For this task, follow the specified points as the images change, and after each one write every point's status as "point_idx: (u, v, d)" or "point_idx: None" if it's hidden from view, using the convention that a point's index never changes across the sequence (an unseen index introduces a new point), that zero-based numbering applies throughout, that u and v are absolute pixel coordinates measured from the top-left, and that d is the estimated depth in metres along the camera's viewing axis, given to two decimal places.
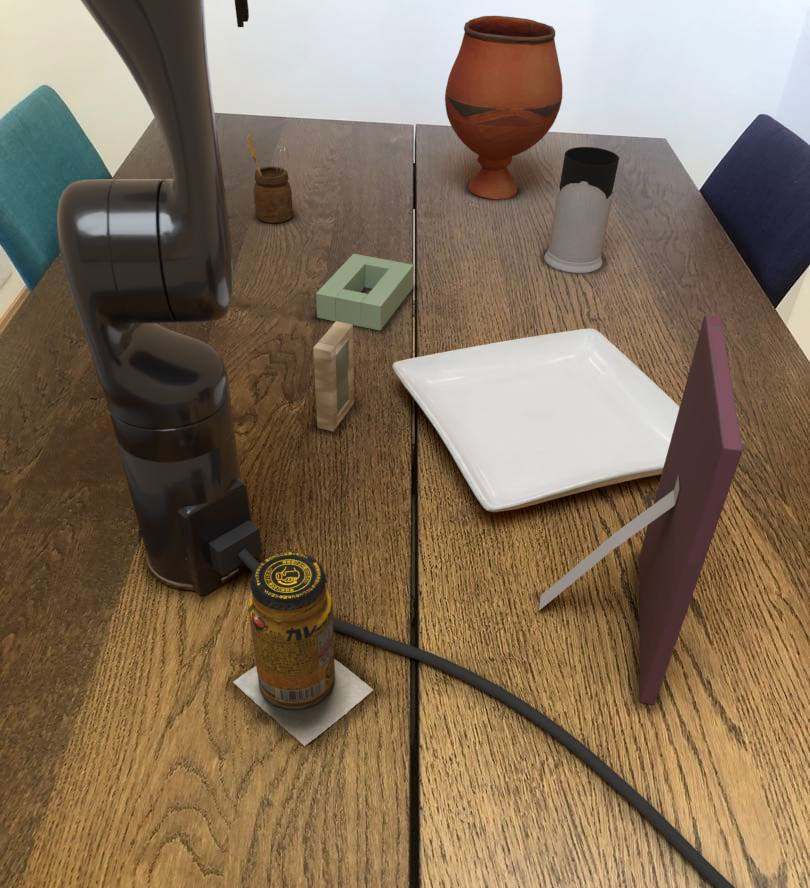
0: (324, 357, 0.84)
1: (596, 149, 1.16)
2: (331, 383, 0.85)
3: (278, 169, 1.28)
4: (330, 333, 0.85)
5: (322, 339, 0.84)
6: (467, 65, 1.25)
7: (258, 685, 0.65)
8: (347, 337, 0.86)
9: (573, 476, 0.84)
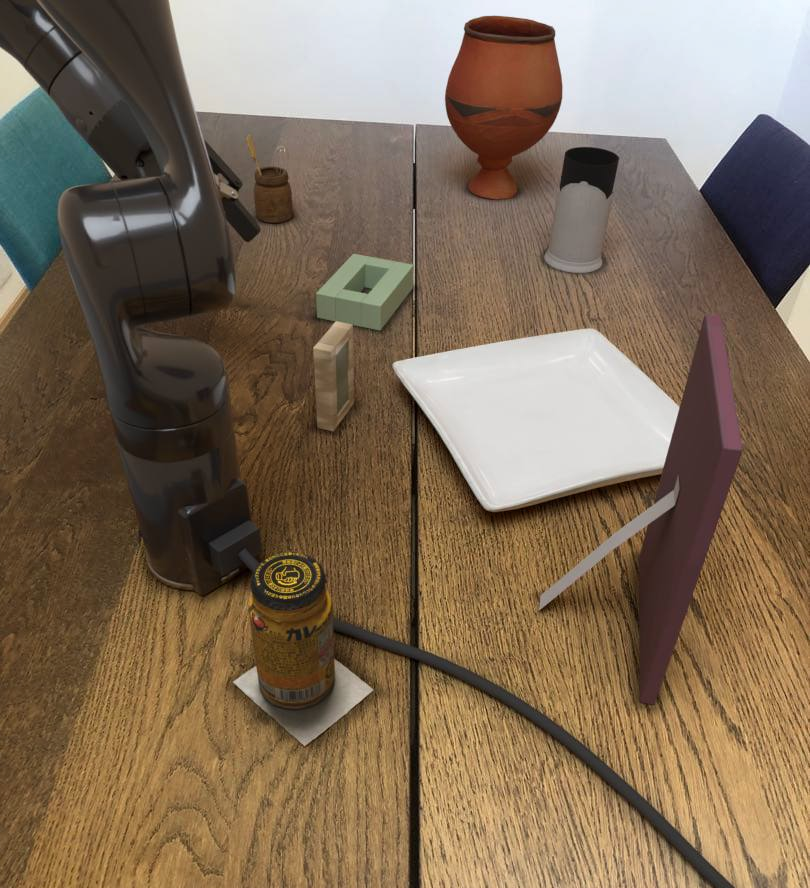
0: (324, 357, 0.84)
1: (596, 149, 1.16)
2: (331, 383, 0.85)
3: (278, 169, 1.28)
4: (330, 333, 0.85)
5: (322, 339, 0.84)
6: (467, 65, 1.25)
7: (258, 685, 0.65)
8: (347, 337, 0.86)
9: (573, 476, 0.84)
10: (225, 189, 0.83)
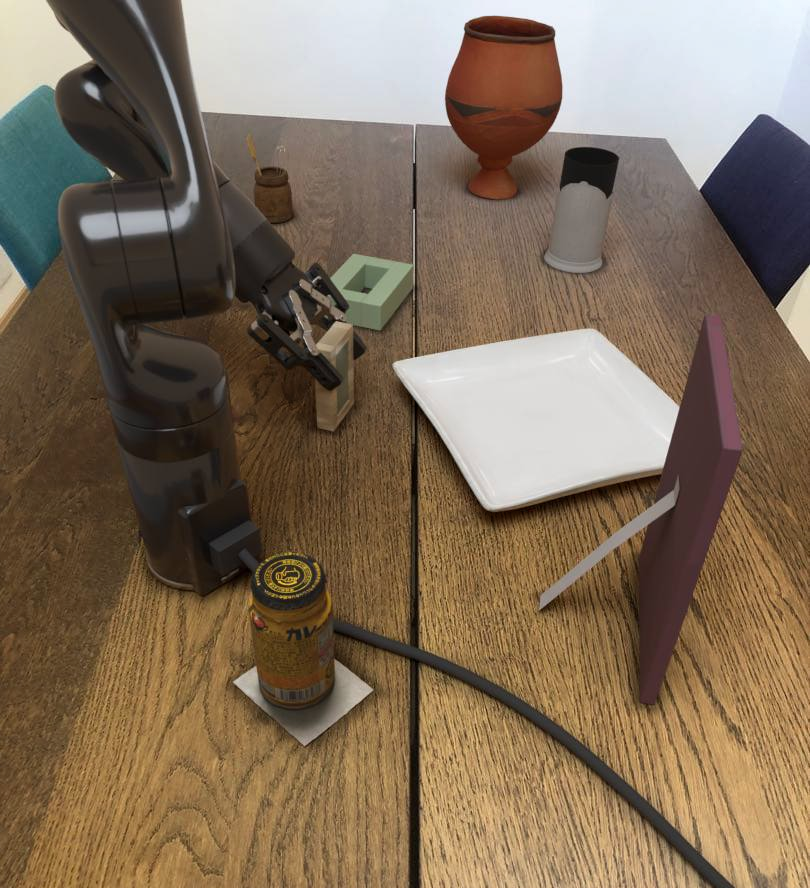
0: None
1: (596, 149, 1.16)
2: None
3: (278, 169, 1.28)
4: (330, 333, 0.85)
5: (322, 339, 0.84)
6: (467, 65, 1.25)
7: (258, 685, 0.65)
8: (348, 337, 0.86)
9: (573, 476, 0.84)
10: (335, 312, 0.87)
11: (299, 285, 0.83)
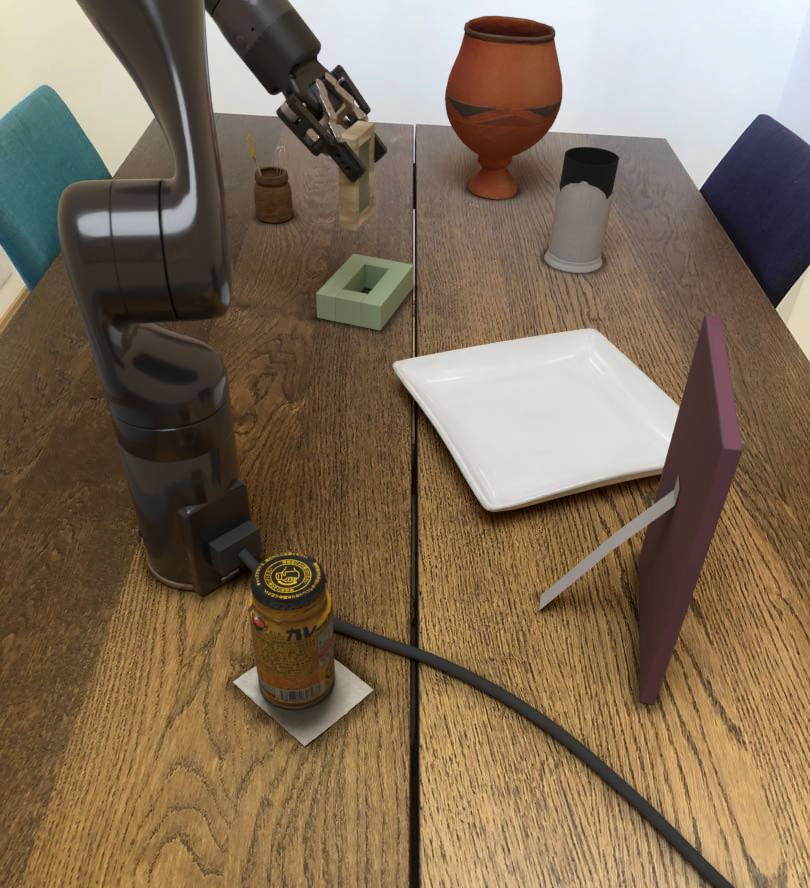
0: None
1: (596, 149, 1.16)
2: None
3: (278, 169, 1.28)
4: (353, 128, 0.90)
5: (346, 131, 0.89)
6: (467, 65, 1.25)
7: (258, 685, 0.65)
8: (370, 134, 0.91)
9: (573, 476, 0.84)
10: (358, 111, 0.92)
11: (325, 77, 0.88)
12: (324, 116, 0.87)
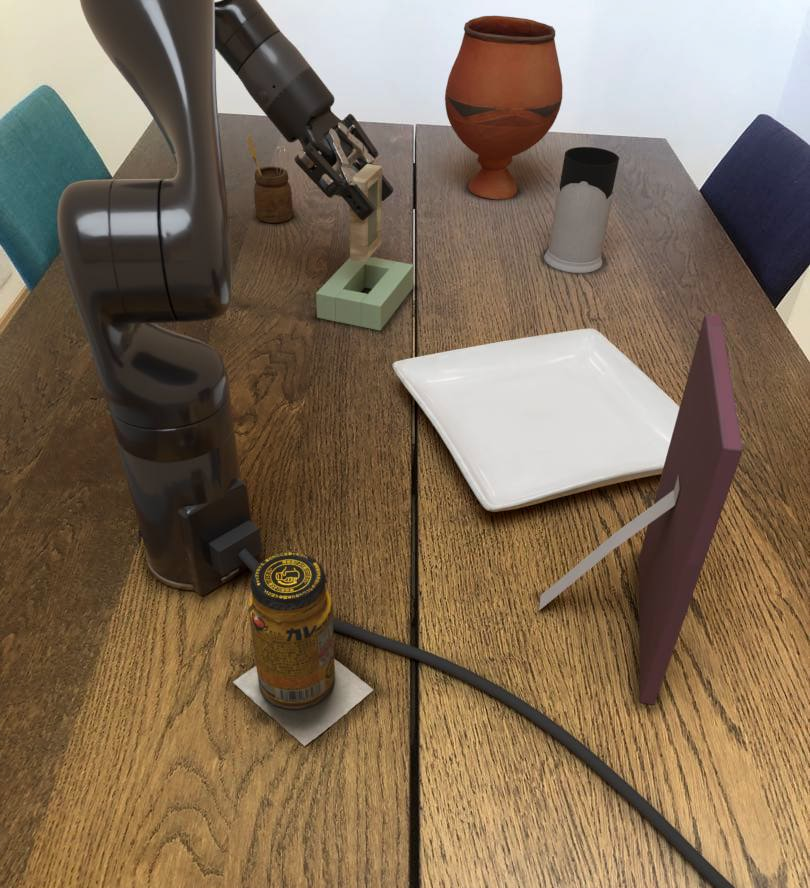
0: None
1: (596, 149, 1.16)
2: None
3: (278, 169, 1.28)
4: (363, 171, 1.00)
5: (356, 174, 0.99)
6: (467, 65, 1.25)
7: (258, 685, 0.65)
8: (377, 176, 1.01)
9: (573, 476, 0.84)
10: (367, 155, 1.02)
11: (337, 127, 0.98)
12: (337, 162, 0.97)
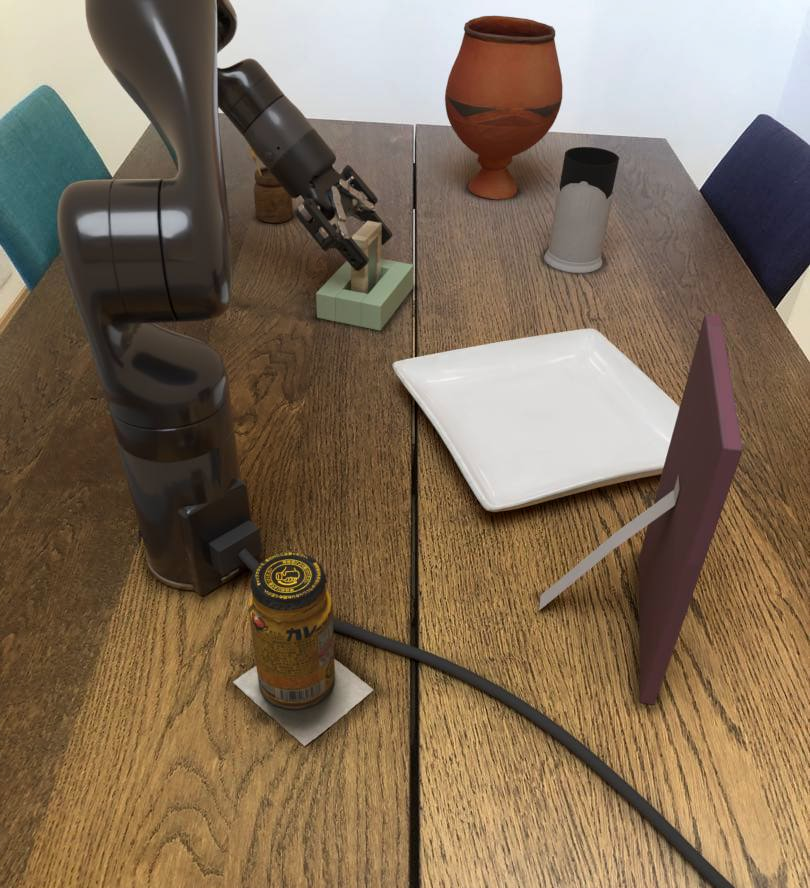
0: (359, 246, 1.03)
1: (596, 149, 1.16)
2: (364, 269, 1.05)
3: None
4: (363, 228, 1.05)
5: (357, 232, 1.04)
6: (467, 65, 1.25)
7: (258, 685, 0.65)
8: (377, 233, 1.06)
9: (573, 476, 0.84)
10: (367, 204, 1.07)
11: (339, 183, 1.03)
12: None
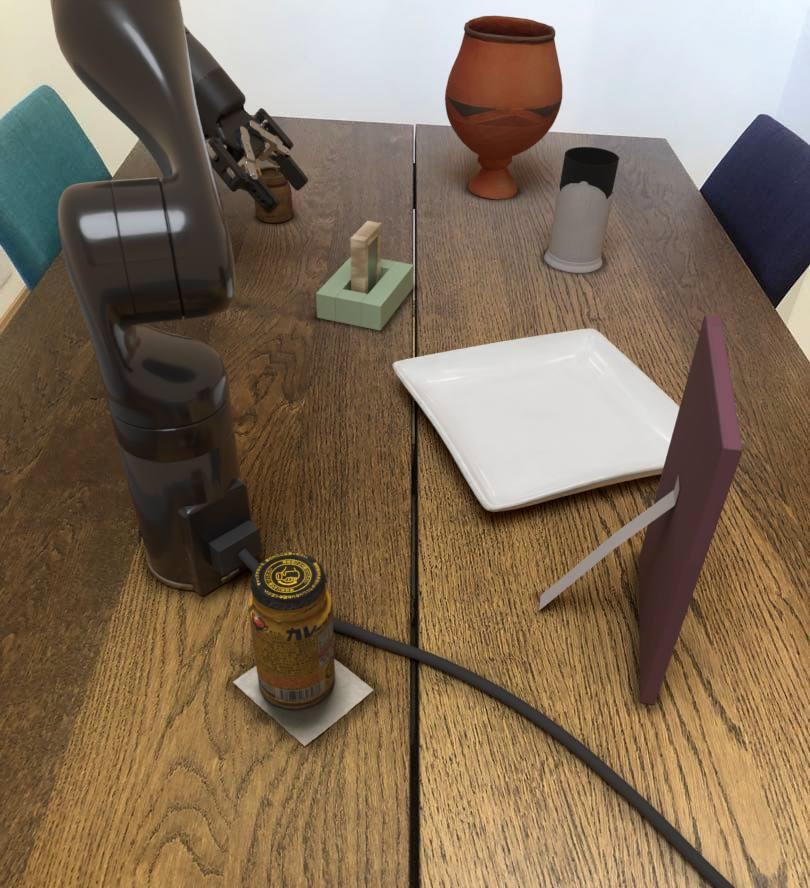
0: (359, 246, 1.03)
1: (596, 149, 1.16)
2: (364, 269, 1.05)
3: None
4: (363, 228, 1.05)
5: (357, 232, 1.04)
6: (467, 65, 1.25)
7: (258, 685, 0.65)
8: (377, 233, 1.06)
9: (573, 476, 0.84)
10: (281, 147, 1.06)
11: (249, 124, 1.02)
12: None
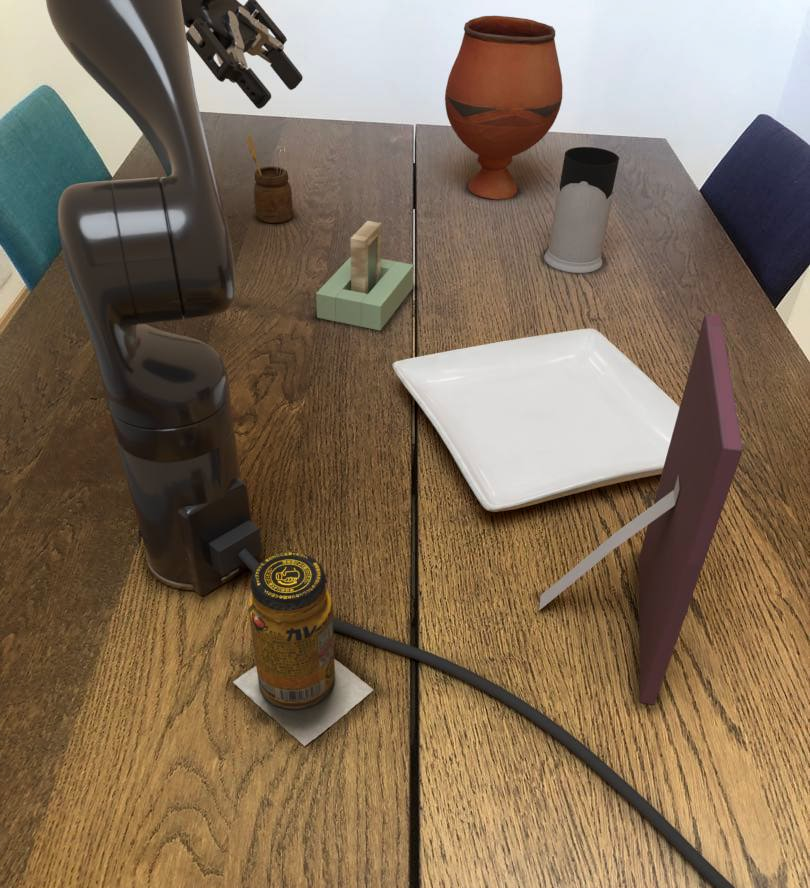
0: (359, 246, 1.03)
1: (596, 149, 1.16)
2: (364, 269, 1.05)
3: (278, 169, 1.28)
4: (363, 228, 1.05)
5: (357, 232, 1.04)
6: (467, 65, 1.25)
7: (258, 685, 0.65)
8: (377, 233, 1.06)
9: (573, 476, 0.84)
10: (273, 40, 0.97)
11: (238, 11, 0.93)
12: None
